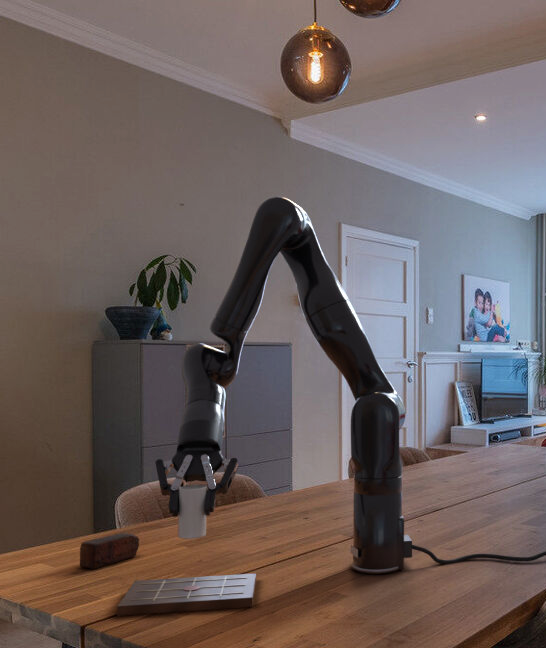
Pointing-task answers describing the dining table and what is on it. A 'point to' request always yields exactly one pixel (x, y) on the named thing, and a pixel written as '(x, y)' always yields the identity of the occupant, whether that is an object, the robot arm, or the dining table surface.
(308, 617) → the dining table surface
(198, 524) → the white upright cylinder
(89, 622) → the dining table surface
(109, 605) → the dining table surface
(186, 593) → the board
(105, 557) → the brick
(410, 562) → the dining table surface
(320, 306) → the robot arm
